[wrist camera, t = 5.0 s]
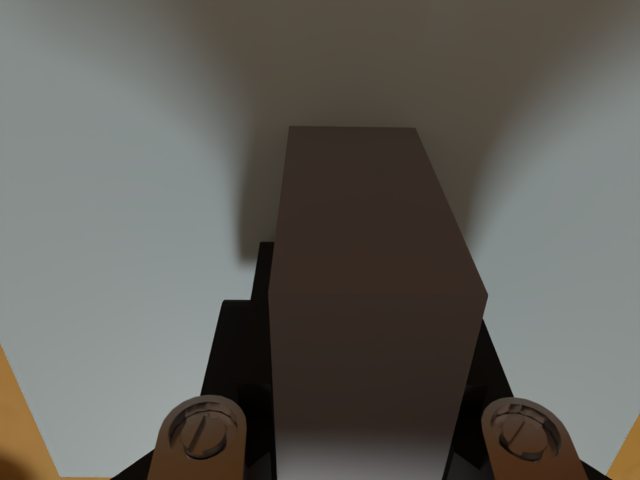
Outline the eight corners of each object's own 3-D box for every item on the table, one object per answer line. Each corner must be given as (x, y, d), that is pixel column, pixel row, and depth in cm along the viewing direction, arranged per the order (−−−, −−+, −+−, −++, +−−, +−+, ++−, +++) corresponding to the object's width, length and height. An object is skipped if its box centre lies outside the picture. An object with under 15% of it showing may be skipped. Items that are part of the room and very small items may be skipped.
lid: (-101, -103, 10) (-809, -113, 4) (800, -85, 10) (1568, -65, 4) (86, 417, 18) (-32, 680, 12) (573, 420, 18) (702, 680, 12)
